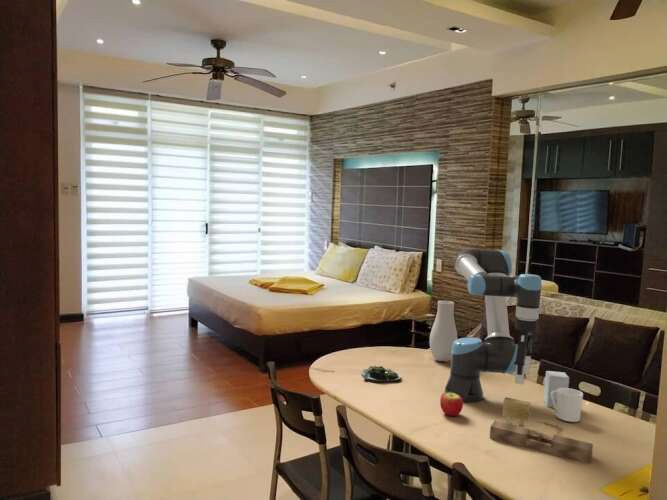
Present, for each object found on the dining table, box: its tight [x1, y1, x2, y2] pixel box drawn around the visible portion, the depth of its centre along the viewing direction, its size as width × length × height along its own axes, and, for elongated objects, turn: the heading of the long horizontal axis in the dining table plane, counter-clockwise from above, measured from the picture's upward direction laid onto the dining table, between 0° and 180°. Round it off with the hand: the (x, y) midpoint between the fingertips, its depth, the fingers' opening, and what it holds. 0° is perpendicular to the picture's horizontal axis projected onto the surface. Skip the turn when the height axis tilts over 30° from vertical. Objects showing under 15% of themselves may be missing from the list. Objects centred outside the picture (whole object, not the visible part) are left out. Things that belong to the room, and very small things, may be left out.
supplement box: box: [543, 370, 570, 409], centre depth 206 cm, size 7×7×13 cm
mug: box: [551, 387, 584, 424], centre depth 192 cm, size 11×9×10 cm
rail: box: [489, 420, 594, 465], centre depth 167 cm, size 30×6×4 cm, turn 60°
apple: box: [439, 387, 464, 417], centre depth 190 cm, size 8×8×10 cm
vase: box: [429, 300, 459, 363], centre depth 261 cm, size 14×14×30 cm
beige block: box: [502, 396, 531, 428], centre depth 183 cm, size 8×3×9 cm, turn 60°
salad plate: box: [360, 365, 402, 384], centre depth 232 cm, size 19×18×5 cm
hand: (522, 378), depth 182 cm, fingers open, 13 cm apart
